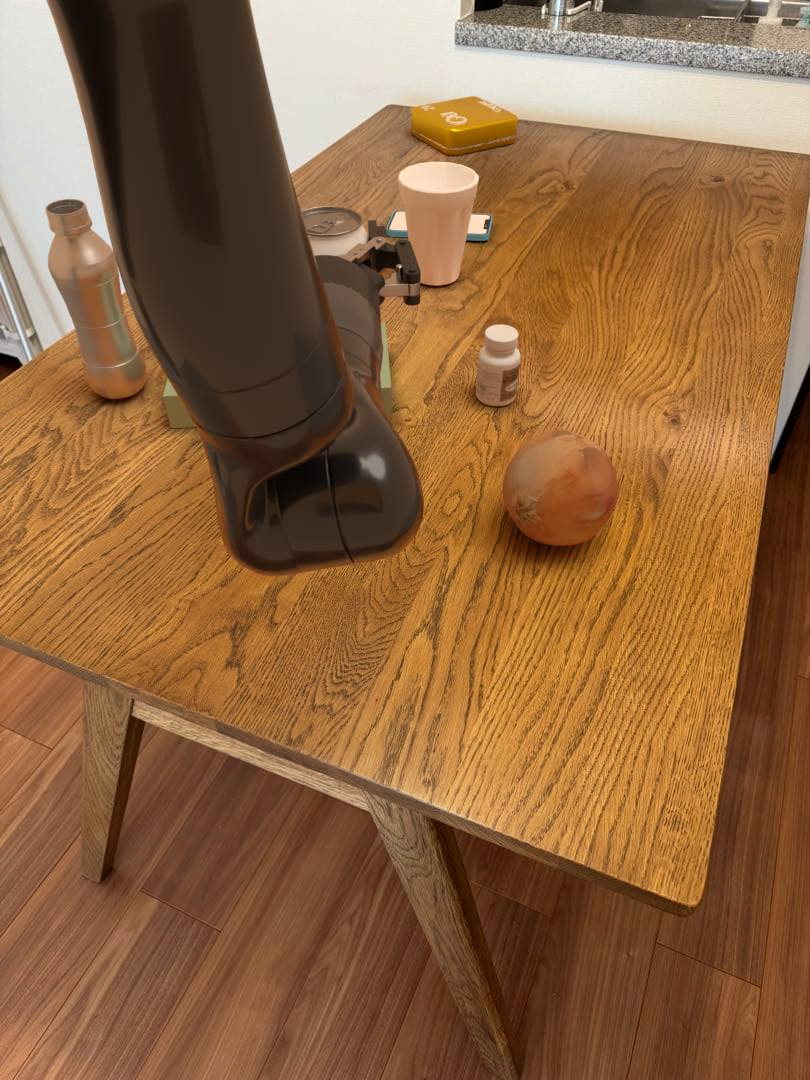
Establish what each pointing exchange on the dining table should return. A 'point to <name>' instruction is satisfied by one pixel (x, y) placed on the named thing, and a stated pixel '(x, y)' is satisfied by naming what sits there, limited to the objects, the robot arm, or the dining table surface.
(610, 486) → the onion
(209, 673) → the dining table surface
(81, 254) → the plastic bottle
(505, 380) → the pill bottle
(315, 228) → the can
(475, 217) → the smartphone
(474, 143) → the element tile
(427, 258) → the cup
